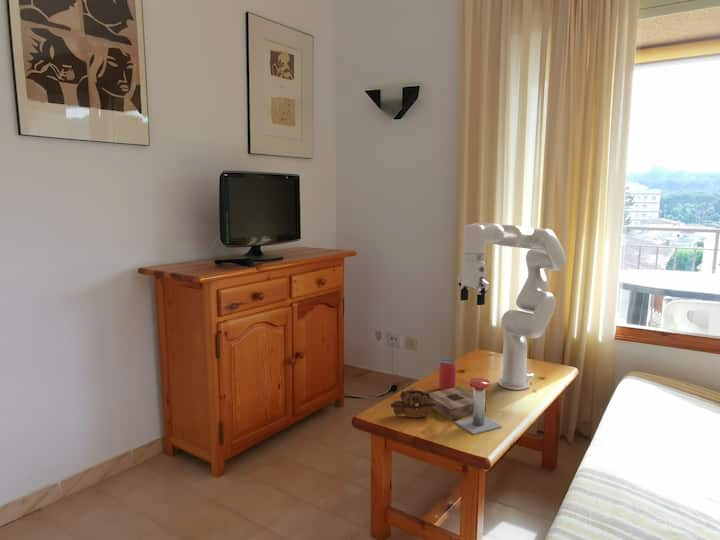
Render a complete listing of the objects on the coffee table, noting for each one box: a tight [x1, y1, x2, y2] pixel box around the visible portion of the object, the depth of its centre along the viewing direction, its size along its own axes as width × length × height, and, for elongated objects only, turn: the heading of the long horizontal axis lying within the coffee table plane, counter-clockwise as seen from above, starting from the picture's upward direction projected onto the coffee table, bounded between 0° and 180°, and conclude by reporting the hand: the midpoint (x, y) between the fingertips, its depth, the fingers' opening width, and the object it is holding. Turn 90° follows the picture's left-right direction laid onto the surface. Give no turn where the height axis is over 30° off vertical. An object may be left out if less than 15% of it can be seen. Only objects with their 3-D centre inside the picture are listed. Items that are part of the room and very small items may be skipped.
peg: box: [468, 377, 491, 426], centre depth 176 cm, size 7×7×15 cm
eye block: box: [428, 386, 487, 421], centre depth 192 cm, size 16×16×4 cm
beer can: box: [438, 358, 457, 391], centre depth 209 cm, size 7×7×12 cm
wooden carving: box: [390, 387, 437, 419], centre depth 184 cm, size 16×5×10 cm, turn 95°
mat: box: [454, 416, 503, 436], centre depth 177 cm, size 12×10×1 cm
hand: (472, 302), depth 195 cm, fingers open, 9 cm apart
